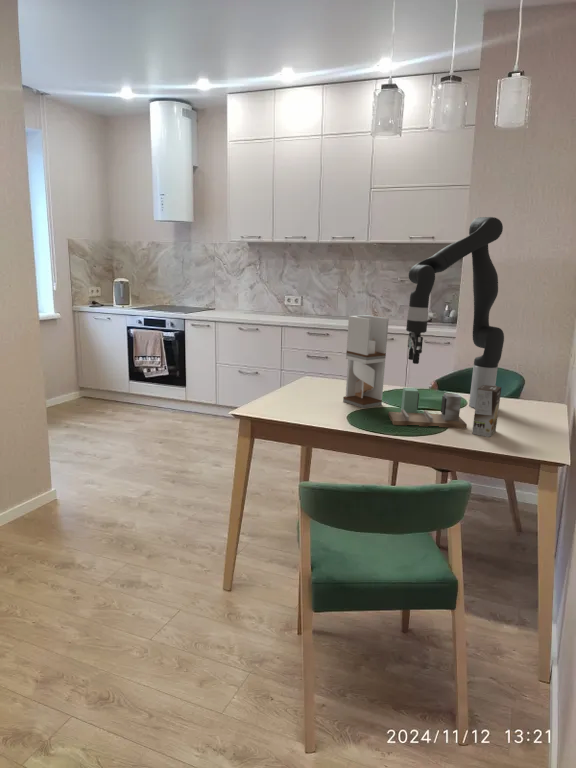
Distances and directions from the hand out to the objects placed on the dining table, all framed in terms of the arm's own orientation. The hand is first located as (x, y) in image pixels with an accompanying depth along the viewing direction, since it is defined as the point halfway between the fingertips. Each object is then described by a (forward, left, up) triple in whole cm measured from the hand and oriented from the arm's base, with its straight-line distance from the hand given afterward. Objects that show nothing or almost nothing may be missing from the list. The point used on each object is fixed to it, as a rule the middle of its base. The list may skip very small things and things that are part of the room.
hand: (413, 361), depth 213 cm
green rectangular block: (0, 0, -20) cm, 20 cm away
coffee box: (-22, +23, -20) cm, 38 cm away
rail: (-4, +13, -20) cm, 24 cm away
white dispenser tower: (+17, -10, -20) cm, 28 cm away
